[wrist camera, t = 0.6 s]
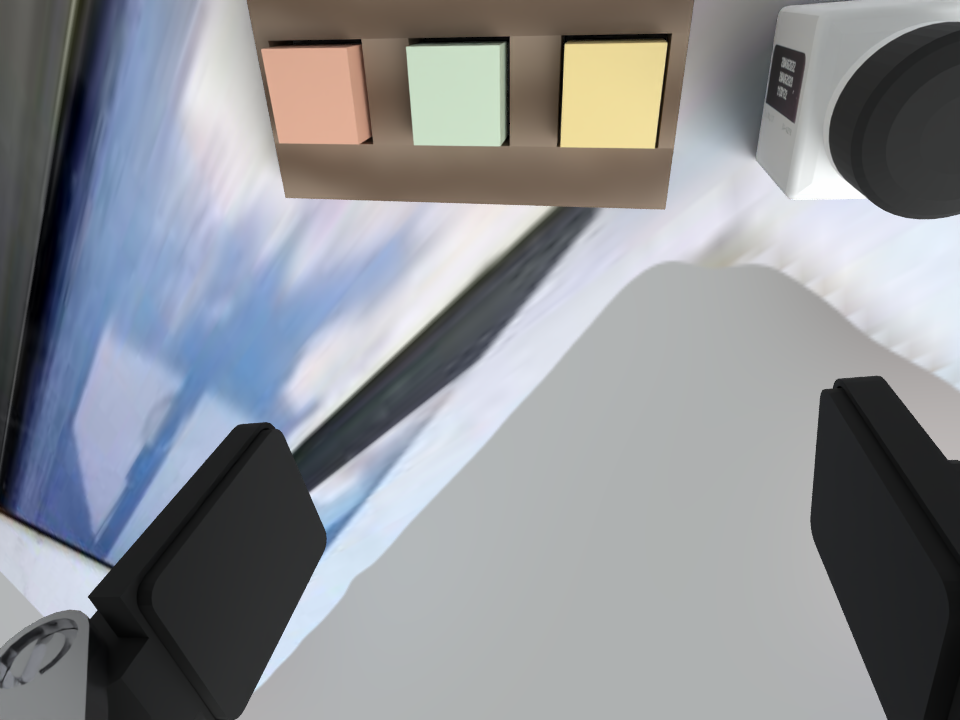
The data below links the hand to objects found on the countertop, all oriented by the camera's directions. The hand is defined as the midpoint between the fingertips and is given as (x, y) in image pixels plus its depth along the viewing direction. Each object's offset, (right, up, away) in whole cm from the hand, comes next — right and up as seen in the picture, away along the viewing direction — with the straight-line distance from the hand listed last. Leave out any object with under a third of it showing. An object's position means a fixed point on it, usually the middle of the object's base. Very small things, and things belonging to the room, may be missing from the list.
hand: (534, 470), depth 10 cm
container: (+18, +17, +21) cm, 32 cm away
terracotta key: (-10, +18, +24) cm, 32 cm away
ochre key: (+6, +17, +22) cm, 28 cm away
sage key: (-2, +17, +23) cm, 29 cm away
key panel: (-1, +18, +24) cm, 30 cm away
